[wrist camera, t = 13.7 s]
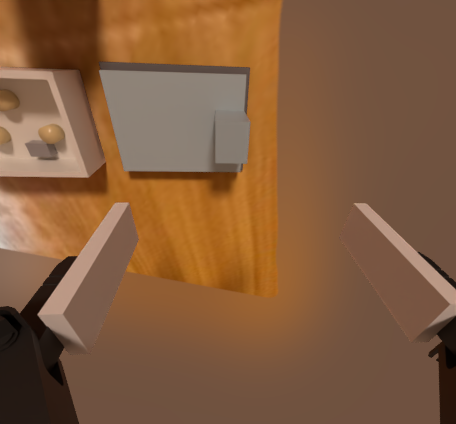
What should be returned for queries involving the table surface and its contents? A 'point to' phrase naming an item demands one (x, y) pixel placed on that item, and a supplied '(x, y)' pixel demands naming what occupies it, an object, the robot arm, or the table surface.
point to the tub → (46, 124)
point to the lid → (178, 120)
